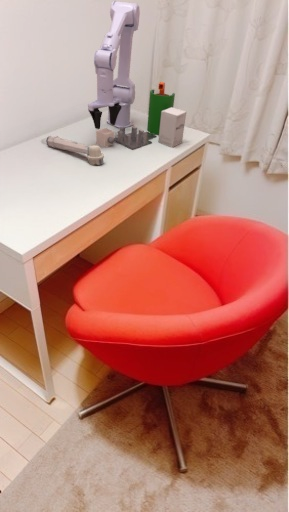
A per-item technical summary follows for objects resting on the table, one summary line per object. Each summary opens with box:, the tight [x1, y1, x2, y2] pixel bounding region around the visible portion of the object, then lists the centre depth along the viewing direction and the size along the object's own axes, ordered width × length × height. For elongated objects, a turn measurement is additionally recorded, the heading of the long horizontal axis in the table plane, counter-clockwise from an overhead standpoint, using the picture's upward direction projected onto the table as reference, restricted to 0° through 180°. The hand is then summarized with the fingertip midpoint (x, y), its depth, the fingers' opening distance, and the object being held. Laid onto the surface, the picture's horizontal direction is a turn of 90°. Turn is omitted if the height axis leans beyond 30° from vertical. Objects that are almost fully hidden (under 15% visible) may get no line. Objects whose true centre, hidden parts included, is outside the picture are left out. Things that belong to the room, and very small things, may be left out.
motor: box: [146, 81, 176, 136], centre depth 147 cm, size 10×9×20 cm
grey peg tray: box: [114, 125, 158, 151], centre depth 143 cm, size 12×17×4 cm
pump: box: [95, 127, 115, 148], centre depth 137 cm, size 7×5×5 cm
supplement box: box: [157, 106, 187, 148], centre depth 141 cm, size 7×7×13 cm
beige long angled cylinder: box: [45, 135, 105, 166], centre depth 129 cm, size 5×7×25 cm
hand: (105, 126), depth 135 cm, fingers open, 7 cm apart
